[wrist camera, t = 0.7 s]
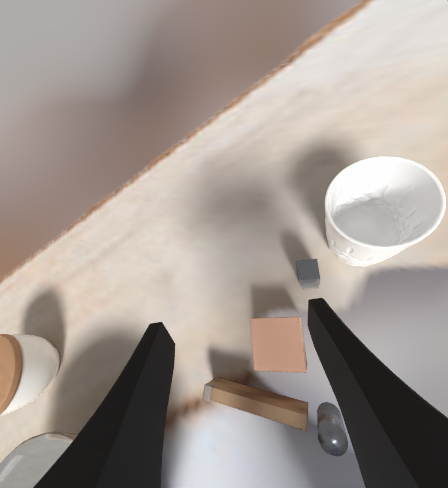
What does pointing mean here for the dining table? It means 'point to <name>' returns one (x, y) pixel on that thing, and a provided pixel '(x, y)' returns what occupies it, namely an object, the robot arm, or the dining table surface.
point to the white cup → (381, 208)
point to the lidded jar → (25, 369)
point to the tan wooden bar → (258, 402)
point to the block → (278, 344)
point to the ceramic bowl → (33, 459)
